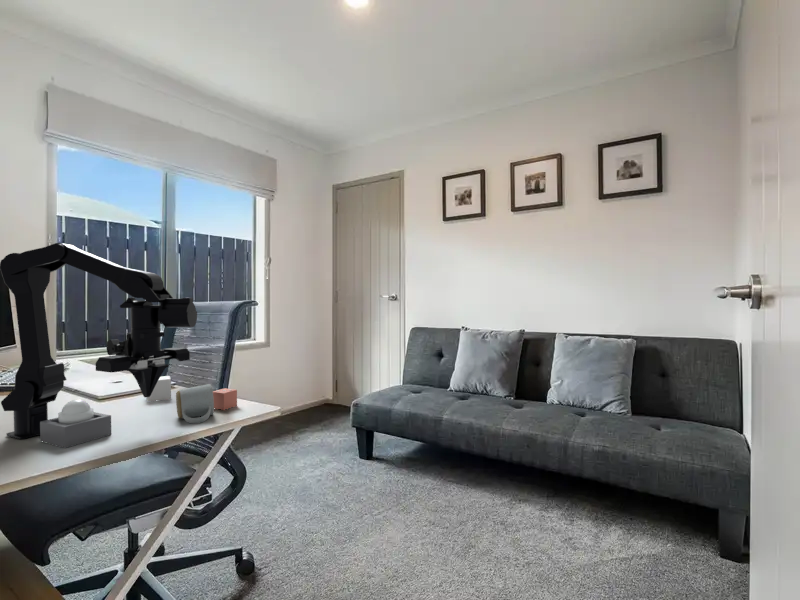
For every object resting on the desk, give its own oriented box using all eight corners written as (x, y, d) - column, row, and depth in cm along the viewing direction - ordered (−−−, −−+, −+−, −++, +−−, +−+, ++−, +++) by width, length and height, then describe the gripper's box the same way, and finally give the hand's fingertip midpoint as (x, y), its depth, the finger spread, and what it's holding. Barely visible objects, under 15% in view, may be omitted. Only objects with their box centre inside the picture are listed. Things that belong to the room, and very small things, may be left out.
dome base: (40, 441, 90) (40, 421, 90) (87, 429, 98) (86, 410, 98) (64, 448, 86) (64, 427, 86) (111, 434, 94) (111, 415, 94)
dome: (52, 425, 91) (51, 401, 90) (83, 417, 96) (83, 395, 96) (68, 428, 88) (68, 404, 88) (99, 420, 93) (99, 398, 93)
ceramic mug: (175, 415, 109) (175, 385, 108) (210, 410, 113) (210, 381, 113) (179, 427, 100) (178, 394, 99) (217, 421, 104) (216, 389, 104)
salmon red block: (211, 408, 115) (211, 391, 115) (225, 404, 119) (224, 387, 119) (223, 410, 113) (223, 392, 113) (237, 406, 117) (236, 389, 117)
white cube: (146, 398, 128) (146, 377, 128) (169, 395, 131) (169, 375, 131) (147, 402, 123) (147, 381, 122) (171, 399, 126) (170, 378, 126)
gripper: (160, 324, 109) (161, 385, 109) (79, 330, 92) (80, 403, 92) (191, 325, 104) (192, 389, 104) (111, 332, 87) (113, 408, 87)
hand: (146, 397), depth 97 cm, fingers closed
